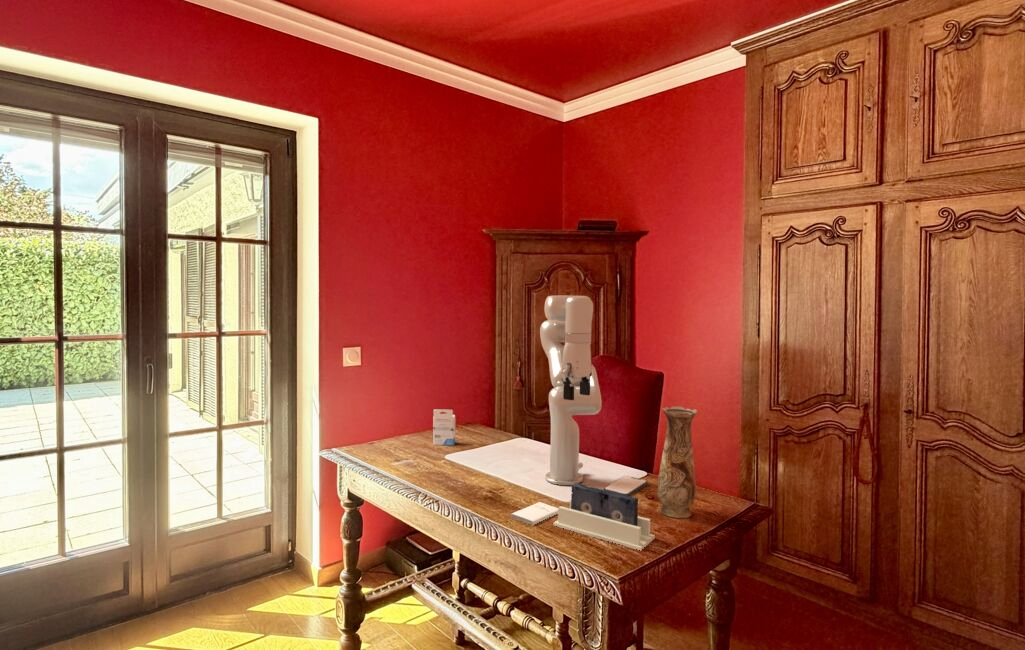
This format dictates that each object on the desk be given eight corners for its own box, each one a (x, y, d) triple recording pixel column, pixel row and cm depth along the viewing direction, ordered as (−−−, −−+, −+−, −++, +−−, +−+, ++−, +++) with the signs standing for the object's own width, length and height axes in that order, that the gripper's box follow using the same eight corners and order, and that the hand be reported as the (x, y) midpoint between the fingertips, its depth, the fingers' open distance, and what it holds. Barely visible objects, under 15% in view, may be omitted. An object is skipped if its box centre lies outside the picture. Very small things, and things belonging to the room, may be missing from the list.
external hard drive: (510, 518, 158) (538, 506, 167) (533, 527, 152) (561, 514, 162) (510, 513, 158) (538, 501, 167) (533, 521, 152) (561, 508, 161)
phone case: (627, 500, 174) (649, 485, 186) (627, 494, 174) (649, 480, 186) (601, 493, 179) (624, 479, 192) (601, 488, 179) (624, 475, 192)
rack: (569, 515, 160) (570, 497, 159) (654, 538, 145) (655, 519, 145) (553, 525, 152) (553, 507, 152) (641, 551, 138) (641, 531, 138)
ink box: (455, 442, 235) (455, 407, 234) (453, 445, 230) (453, 410, 229) (435, 441, 236) (435, 406, 235) (432, 444, 231) (432, 409, 230)
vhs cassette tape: (637, 535, 145) (638, 497, 144) (632, 539, 142) (633, 501, 142) (575, 517, 156) (576, 482, 155) (570, 521, 153) (570, 485, 153)
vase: (650, 512, 163) (653, 409, 161) (668, 502, 170) (671, 404, 169) (684, 522, 156) (687, 415, 154) (701, 511, 163) (704, 409, 162)
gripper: (580, 336, 174) (579, 391, 175) (551, 340, 159) (550, 400, 160) (602, 338, 169) (601, 394, 170) (575, 341, 155) (573, 403, 156)
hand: (576, 397), depth 165 cm, fingers open, 9 cm apart
